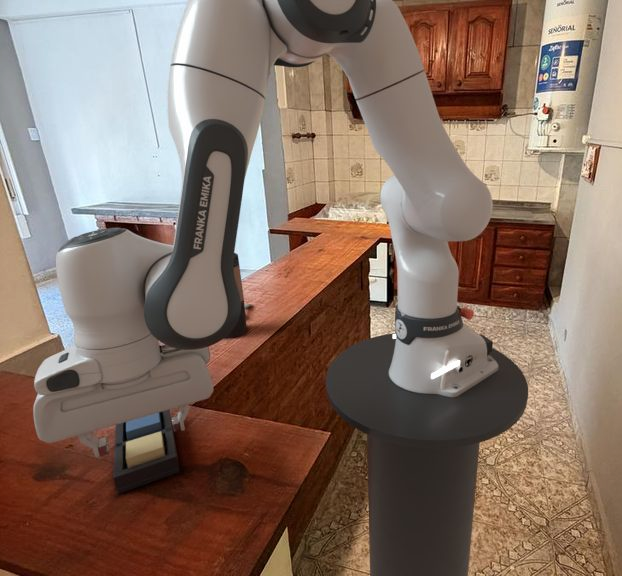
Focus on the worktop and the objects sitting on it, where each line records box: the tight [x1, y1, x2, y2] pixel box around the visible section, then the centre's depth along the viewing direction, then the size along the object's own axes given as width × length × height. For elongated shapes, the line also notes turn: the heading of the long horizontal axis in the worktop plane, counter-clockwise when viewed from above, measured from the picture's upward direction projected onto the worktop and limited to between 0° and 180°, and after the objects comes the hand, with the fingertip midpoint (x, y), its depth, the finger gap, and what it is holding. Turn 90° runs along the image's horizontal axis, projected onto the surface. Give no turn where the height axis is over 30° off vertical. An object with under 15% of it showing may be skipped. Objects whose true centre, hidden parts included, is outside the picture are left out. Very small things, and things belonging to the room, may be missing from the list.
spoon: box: [244, 303, 252, 310], centre depth 113 cm, size 3×12×2 cm, turn 4°
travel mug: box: [224, 252, 248, 339], centre depth 98 cm, size 8×8×20 cm
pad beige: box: [126, 431, 166, 468], centre depth 57 cm, size 4×4×3 cm
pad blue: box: [126, 413, 163, 440], centre depth 62 cm, size 4×4×3 cm
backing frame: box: [113, 409, 181, 495], centre depth 60 cm, size 8×14×3 cm, turn 31°
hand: (142, 441), depth 56 cm, fingers open, 8 cm apart
